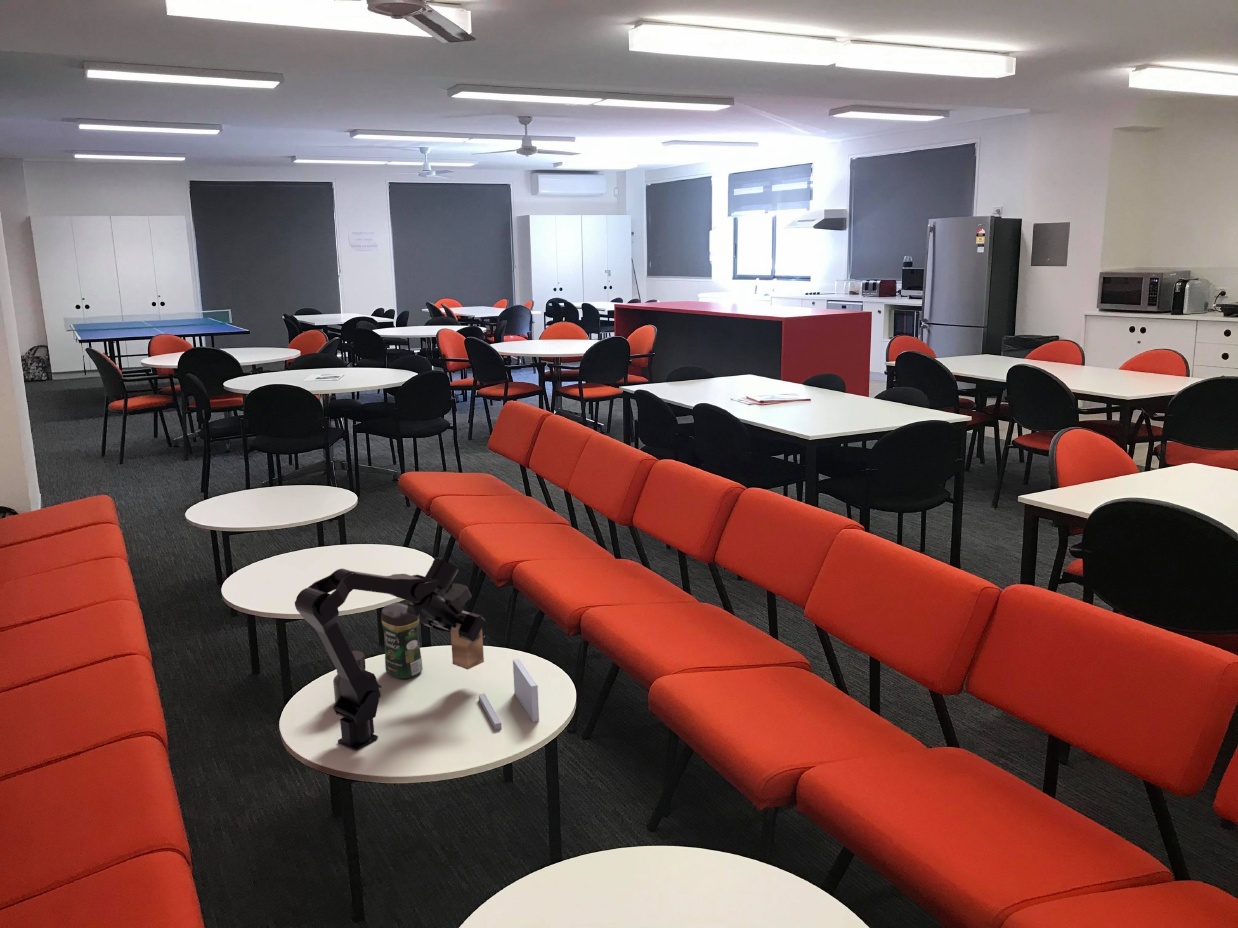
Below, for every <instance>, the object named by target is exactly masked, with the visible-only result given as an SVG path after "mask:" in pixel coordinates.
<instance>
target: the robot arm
mask: <svg viewBox="0 0 1238 928" xmlns="http://www.w3.org/2000/svg"><path fill="white" fill-rule="evenodd" d="M431 563H432V564H431V566H430V568H428V571H427V572H426V574H425V576H424V575H421V574H413V575H410V574H406V573H394V574H391V575H382V574H381V575H380V574H373V573H367V572H361V571H353V570H350V569H346V568H339V569H336V570H335V571H332V573H331V574H329V575H328V576H325V577H323V578H321V579H319V580H317V581H315V582H313V583H312V584H310V585H309V586H308V587H306V588H303V589H302V590H301V591H300V592H298V594H297V596H296V598H295V601H294V606H295V609H296V611H297V612H298V613H299V614H300V616H301V617H302V618H303V619H304V621H305V622H306V623H308V624H309V625H310V626H311V627H312V628H313V629H314V630H315V631H316V633H317V634H318V637H319V639H320V640H321V642H322V645H323V646H324V648H325V650H326V652H327V654H328V656H329V658H330V660H331V662H332V664H333V666H334V667H335V670H336V673H337V672H338V673H337V674H339V676H340V686H339V687H340V691H341V695H340V696H339V698H338V700H337V701H336V703H335V702H334V705H333V707H332V710H333V712H334V714H335V715H337V716H339V717H341V718H340V719H339V722H340V731H341V732H340V734H341V738H339V739H337V743H338V744H340V745H343V746H345V747H348V748H349V749H352V750H354V751H357V750H360V749H361V748H363V747H365V746H367V745H368V744H370V743H373V742H374V741H376V740H378V739H379V737H378V735H376V734H375V727H374V726H375V725H374V724H375V723H374V718H376V716H377V712H378V711H377V710H378V706H379V701H380V698H381V695H382V693H381V688H382V686H381V685H380V684H379V683H378V680H377V676H376V675H375V673H372V672H370V671H368V670H366V669H365V670H363V669H361V668H360V666H359V664H358V662H357V660H356V658H355V656H354V654H353V652H352V651H353V650H352V649H351V646H350V644H349V643H348V640H347V638H346V636H345V635H344V633H343V630H342V628H341V627H340V624H339V615H340V611H339V608H340V607H341V606H342V605H343V604H345V602H346V600H347V598H348V596H349V594H350V592H352V591H354V590H355V591H363V592H372V593H379V594H386V595H391V596H393V597H396V598H398V599H402V600H404V601H407V602H409V603H407V606H408V608H407V613H408V614H411V615H414V616H418V617H419V623H421V624H422V625H424V626H426V627H429V628H432V629H435V630H437V631H441V632H446V633H451V628H454V629H455V628H456V627H457V625H460V628H459V630H458V631H459V637H460V638H463V639H466V640H469V641H472V642H473V641H475V640H476V639H477V640H478V639H479V637H480V634H479V632H480V630H481V629H482V630H483V627H484V625H485V624H486V619H485V618H484V617H483V616H482V615H480V614H477V613H473V612H469V614H467V615H465V616H462V615H460V614H461V613H462V611H464V609H463V608H462V607H463V606H464V605H465V604H466V603H467V602H468V601H469V600H471V599H472V593H471V592H470V590H469V588H468V586H467V585H464V584H461V583H453V582H454V579H455V577H456V575H457V574H458V572H459V568H458V567H457V566H456V565H454V564H451V563H450V562H447V561H445V560H444V559H442V558H440V557H434V559H433V560H432V562H431ZM331 592H332V593H331ZM439 593H440V594H441V595H439ZM420 613H421V614H420ZM456 624H457V625H456Z"/></svg>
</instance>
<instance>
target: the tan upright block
mask: <svg viewBox="0 0 1238 928" xmlns="http://www.w3.org/2000/svg"><path fill="white" fill-rule="evenodd" d="M469 613H470V612H468V611H466V610H463V611H462V613H461V614H460V613H459V615H462V616H465V615H467V614H469ZM456 625H457V624H456ZM459 628H460V625H457V627H456V628H455V629H454V628H451V632H450V642H451V655H452V656H451V658H452V665H454V666H456V667H460V668H463V669H465V670H470V669H472V668H474V667H476V666H479V665H481V664H482V663H484V662H485V660H484V659H485V656H484V654H485V653H484V641H483V628H482V629H481V630H480V632H479V634H480V637H479V639H478V640H477V639H476V640H475V641H473V642H472V641H469V640H466V639H463V638H460V637H459V631H458V630H459Z"/></svg>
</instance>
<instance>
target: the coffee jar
mask: <svg viewBox="0 0 1238 928" xmlns="http://www.w3.org/2000/svg"><path fill="white" fill-rule="evenodd" d="M407 608H408V604H407V605H406V604H403V603H399V602H398V601H397V602H392V603H390V604H386V605H385V606H383V607H382V609H381V617H380V618H381V619H380V620H381V625H382V629H383V635H384V637H383V638H384V664H385V665H384V667H385V671H386V673H387V674H389V675H390V676H393V677H395V678H397V679H401V680H405V679H410V678H414V677H416V676H418V675H419V674H421V673H422V672H423V669H424V668H423V660H422V654H421V645H420V637H419V623H420V616H419V615H418V616H414V615H411V614H408V613H407Z"/></svg>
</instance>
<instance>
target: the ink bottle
mask: <svg viewBox="0 0 1238 928" xmlns="http://www.w3.org/2000/svg"><path fill="white" fill-rule="evenodd" d="M352 652H353V654H354V656H355V658H356V660H357V662H358V664H359V666H360V668H361V669H363V670H366V658H365V653H364V652H362V651H359V650H352ZM332 683H333V685H332V686H333V691H334V692H333V694H334V704H335V703H336V701H337V700H338V698H339V696H340V695H341V691H340V687H339V686H340V676H339V674H338V672H337V671H336V675H335V676H334V678H333V681H332Z"/></svg>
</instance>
